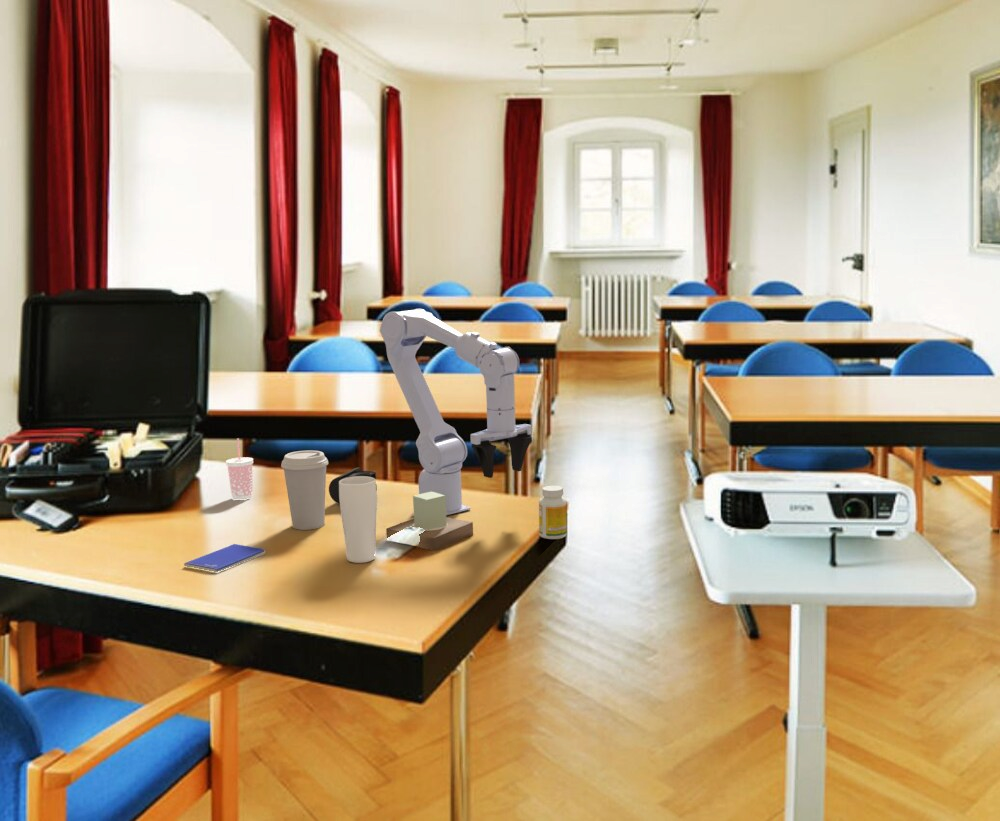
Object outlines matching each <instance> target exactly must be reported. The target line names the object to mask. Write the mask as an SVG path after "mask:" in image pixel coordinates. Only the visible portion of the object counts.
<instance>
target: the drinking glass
mask: <svg viewBox="0 0 1000 821" xmlns="http://www.w3.org/2000/svg"><path fill="white" fill-rule="evenodd" d="M376 484H377V483H376V479H374V478H373V477H368V476H354V477H348V478H344V479H341V480H340V481H339V501H340V505H339V509H340V515H341V522H342V529H343V535H344V542H345V543H344V544H345V549H346V550H345V552H346V554H345V555H346V560H347V561H348V562H350V563H354V564H364V563H369V562H371V561H373V560H375V559H376V557H375V556H374V554H375V551H376V552H377V550H376V544H377V543H376V541H377V540H376V539H377V515H378V514H377V510H378V508H377V506H378V500H377V499H378V497H377V496H378V495H377V494H378V493H377V491H376Z"/></svg>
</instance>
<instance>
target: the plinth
mask: <svg viewBox="0 0 1000 821" xmlns="http://www.w3.org/2000/svg"><path fill="white" fill-rule="evenodd" d="M446 523H447V525H446V526H442V527H438V528H434V529H430V530H426V529H424V530H425V531H424V532H423V533H421V534H419V536H420V542H419V545H418V546H419V547H420V548H419V547H418V548H419V549H424V550H429V549H430V551H437V550H440V549H442V548H445V547H447V546H448V545H449V546H450V545H451V544H454V543H456V542H458V541H460V540H464V539H465V538H468V537H470V536H473V535H474V522H473V521H468V520H463V519H459V518H458V519H456V518H451V517H446ZM410 526H412V527H418V526H415V525H414V517H413V518H411V519H409V520H406V521H403V522H400V523H397V524H396V525H395V524H394V525H393V526H389V527H387V528H386V529H385V531H386V539H387V538H388V537H390V536H391V535H393V534H395V533H397V532H399V531H401V530H403V529H404V528H406V527H410ZM420 528H421V527H420Z"/></svg>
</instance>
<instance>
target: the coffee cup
mask: <svg viewBox="0 0 1000 821" xmlns="http://www.w3.org/2000/svg"><path fill="white" fill-rule="evenodd" d="M328 465H329V460H328V458H327V457H326V456H325V453H324V452H323V451H320V450H298V451H292V452H289V453H287V454H285V455H284V457H283V460H281V465H280V467H281V468H282V469H283V473H284V479H285V484H286V485H285V486H286V491H287V492H286V493H287V499H288V506H289V510H290V511H289V512H290V517H291V518H290V519H291V524H292V528H293V529H295V530H301V531H307V530H315V529H320V528H322V527H324V526H325V523H326V522H325V520H326V518H325V517H326V516H325V515H326V486H327V485H326V484H327V481H326V480H327V466H328Z"/></svg>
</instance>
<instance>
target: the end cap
mask: <svg viewBox="0 0 1000 821" xmlns="http://www.w3.org/2000/svg"><path fill="white" fill-rule="evenodd" d="M354 476H368V477H373V478H374V479H375V480H377V473H376V471H373V470H372V471H371V470H362V468H361V467H355V468H353V469H351V470H349V471H346V472H344V473H342V474H340V475H339V476H336V477H335V478H333V479H332V480H331V481H330V482H329V485H328V493H329V496H330V498H331V500H333V501H334V502H335V503H337V504H338V505H339V506H340V501H339V481H340V480H341V479H344V478H348V477H354ZM377 486H378V485H377V483H376V492H377V491H378V490H377V488H378V487H377Z"/></svg>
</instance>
